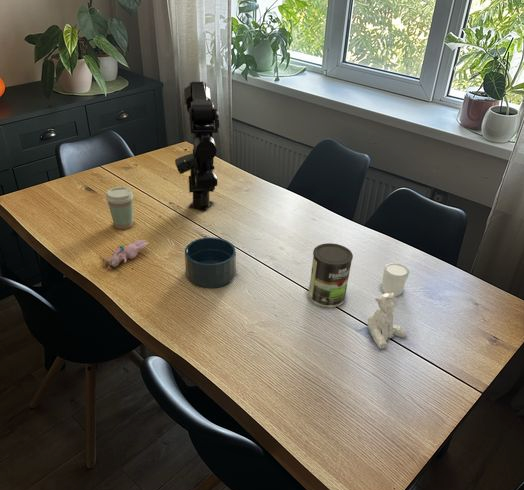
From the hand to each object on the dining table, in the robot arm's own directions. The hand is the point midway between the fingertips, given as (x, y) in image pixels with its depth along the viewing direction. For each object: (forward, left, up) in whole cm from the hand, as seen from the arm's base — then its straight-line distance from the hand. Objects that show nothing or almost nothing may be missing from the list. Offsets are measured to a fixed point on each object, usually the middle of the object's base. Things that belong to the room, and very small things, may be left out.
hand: (204, 195), depth 156 cm
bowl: (+21, +13, -13) cm, 28 cm away
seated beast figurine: (+25, +63, -13) cm, 69 cm away
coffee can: (+16, +46, -13) cm, 51 cm away
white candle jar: (+5, +62, -13) cm, 64 cm away
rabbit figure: (+25, -13, -13) cm, 31 cm away
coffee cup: (+9, -26, -13) cm, 30 cm away
